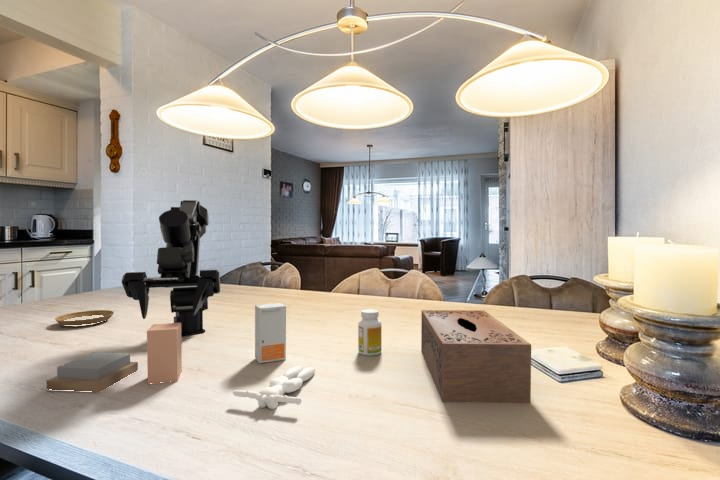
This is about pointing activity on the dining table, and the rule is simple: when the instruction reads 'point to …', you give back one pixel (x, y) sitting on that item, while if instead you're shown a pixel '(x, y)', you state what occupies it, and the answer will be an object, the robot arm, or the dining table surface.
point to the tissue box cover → (475, 357)
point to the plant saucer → (105, 313)
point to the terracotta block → (164, 352)
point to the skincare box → (270, 332)
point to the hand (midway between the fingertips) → (169, 316)
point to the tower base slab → (91, 384)
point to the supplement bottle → (369, 333)
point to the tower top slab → (93, 366)
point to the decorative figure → (280, 388)
